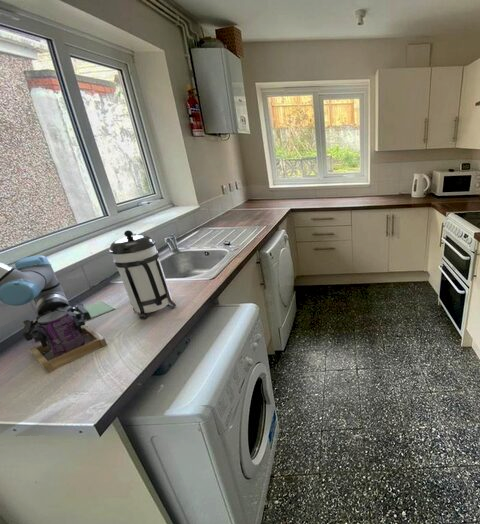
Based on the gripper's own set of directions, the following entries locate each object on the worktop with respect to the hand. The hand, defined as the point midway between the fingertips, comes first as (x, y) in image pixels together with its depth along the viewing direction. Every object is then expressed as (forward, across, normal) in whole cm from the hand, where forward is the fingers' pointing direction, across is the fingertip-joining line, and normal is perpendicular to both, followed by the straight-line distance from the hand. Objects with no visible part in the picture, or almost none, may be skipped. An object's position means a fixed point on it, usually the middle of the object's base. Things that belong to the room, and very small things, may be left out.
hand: (62, 335), depth 79 cm
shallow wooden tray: (-5, 0, -8) cm, 9 cm away
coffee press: (-10, -24, -8) cm, 28 cm away
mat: (-28, -7, -8) cm, 30 cm away
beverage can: (-5, 0, -8) cm, 9 cm away
